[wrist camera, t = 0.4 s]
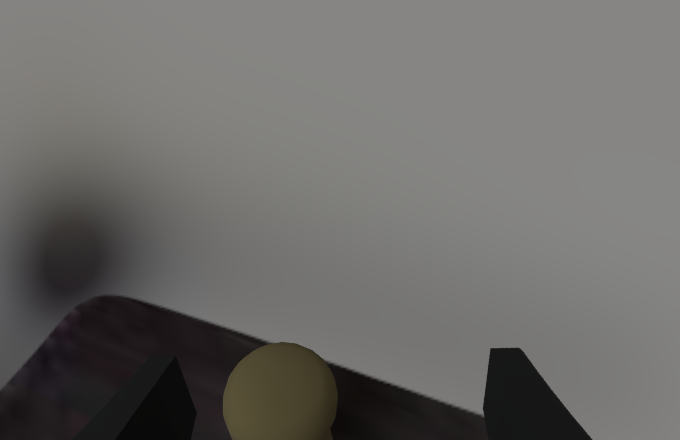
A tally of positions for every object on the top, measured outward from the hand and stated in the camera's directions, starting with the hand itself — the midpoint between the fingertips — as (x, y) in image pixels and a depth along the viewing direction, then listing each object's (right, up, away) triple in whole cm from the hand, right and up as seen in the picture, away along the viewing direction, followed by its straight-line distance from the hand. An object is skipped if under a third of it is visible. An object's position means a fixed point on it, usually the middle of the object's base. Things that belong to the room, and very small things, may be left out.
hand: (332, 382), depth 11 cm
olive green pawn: (-3, -12, +16) cm, 20 cm away
